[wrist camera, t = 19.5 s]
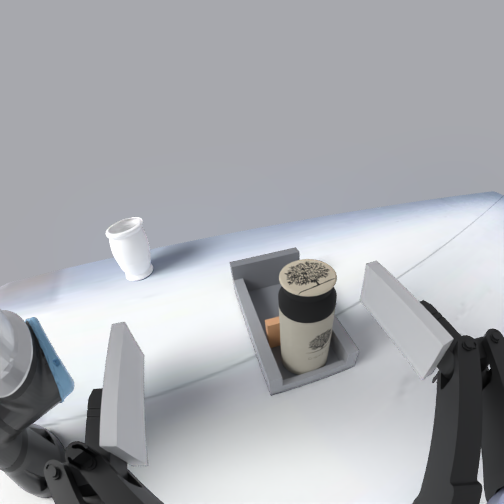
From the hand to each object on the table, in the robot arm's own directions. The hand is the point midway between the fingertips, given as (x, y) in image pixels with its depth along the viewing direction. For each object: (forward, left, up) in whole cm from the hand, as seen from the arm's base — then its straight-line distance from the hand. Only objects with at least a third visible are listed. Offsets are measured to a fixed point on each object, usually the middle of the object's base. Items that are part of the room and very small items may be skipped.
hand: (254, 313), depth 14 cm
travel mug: (+10, +16, -30) cm, 35 cm away
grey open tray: (+10, +25, -30) cm, 40 cm away
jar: (-22, +56, -30) cm, 67 cm away
